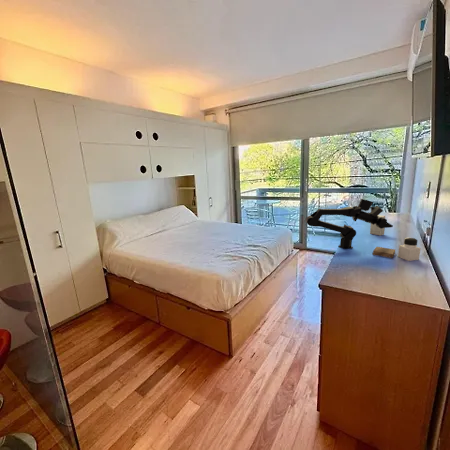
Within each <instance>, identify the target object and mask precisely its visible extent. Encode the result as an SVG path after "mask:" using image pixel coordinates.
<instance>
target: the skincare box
mask: <svg viewBox="0 0 450 450" xmlns="http://www.w3.org/2000/svg"><path fill="white" fill-rule="evenodd" d="M378 216H379V217H378V218H381V217H382V218H385V219H386V215H381V214H379V215H378ZM385 230H386V228H382V229H381V228H379V227H377V226H376V224H374V225H373V224H371V223H370V230H369V234H370V235H377V236H384V235H385Z"/></svg>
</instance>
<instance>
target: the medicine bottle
mask: <svg viewBox="0 0 450 450" xmlns="http://www.w3.org/2000/svg"><path fill="white" fill-rule="evenodd" d="M421 250H422V249H421V247H419V246H418V239H417V238H414V237H405V238H404V240H403V244H401V245H399V247H398V253H397V257H398V258H400V259H403V260H405V261H408V262H410V261H419V260H420V255H421Z"/></svg>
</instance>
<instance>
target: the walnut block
mask: <svg viewBox="0 0 450 450" xmlns="http://www.w3.org/2000/svg"><path fill="white" fill-rule="evenodd" d="M395 254H396V249H394V248H388V247H387V248H386V247H382V246H376V247H375V248H374V249H373V251H372V256H378V257H383V258H387V259H388V258H389V259H393V258H394V257H395Z"/></svg>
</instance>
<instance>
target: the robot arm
mask: <svg viewBox="0 0 450 450" xmlns="http://www.w3.org/2000/svg"><path fill="white" fill-rule="evenodd" d="M373 202H374V201H370V200H367V199H363V198H360V201H359V204H358V205H355V206H346V207H345V206H344V207H342V208H341V207H340V208H318V209H317V210H316V211H313V213H311V214H310V215H307V216H306V217H305V223H306V224H307V225H308V226H309V227H316V228H317V227H320V228H323V229H326V230H330V231H334V232H338V233H340V234H339V235H340V237H341V238H340V242H339V243H340V244H339V245H338V247H339V248H341V249H344V250H348V249H349V250H350V249H353V248H354V246H353V245H352V243H353V242H352V241H353V240H354V237H355V236H357V231H356V230H355V229H354V227H352V226H350V225H347V224H345V223H344V224H343V225H337V224H334V223H330V222H327V221H323V220H321V217H322V216H344V217H348V218H352V220H353V221H354V222H357V220H360V221H363V222H364V223H365V222H366V223H368V224H370V225H371V224H373V225H374V224H376V226H377V227H379V228H381V229H382V228H385V229H387V228H393V226H394V225H392V224H391V223H389V222H388V220H387V218H386V217H385V218H382V217H381V218H378V217H379V216H378V215H381V213H383V211H384V210H383V208H381V207H380V206H372V204H373ZM369 210H370V212H367V211H369Z"/></svg>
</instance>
